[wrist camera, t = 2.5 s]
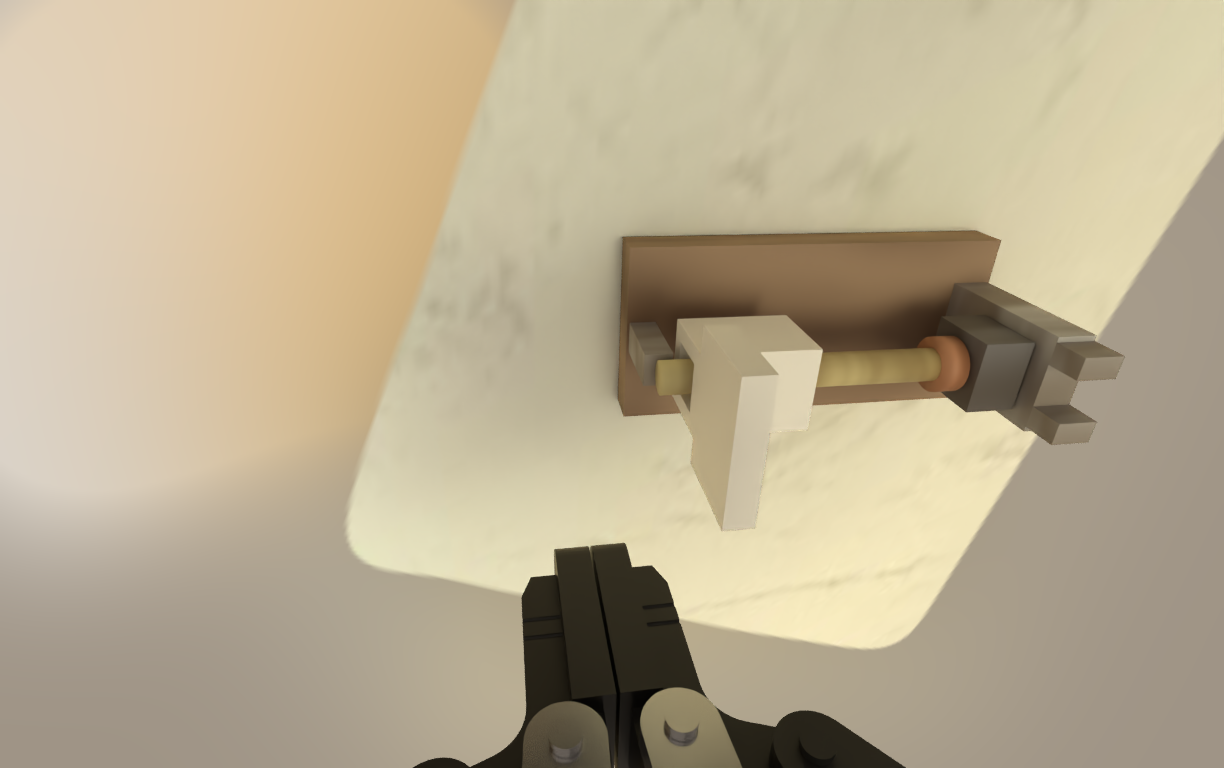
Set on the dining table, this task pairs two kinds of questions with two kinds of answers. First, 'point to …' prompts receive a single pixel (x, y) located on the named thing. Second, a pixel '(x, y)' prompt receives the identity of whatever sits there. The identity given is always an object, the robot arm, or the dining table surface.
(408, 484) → the dining table surface
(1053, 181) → the dining table surface
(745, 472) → the cream stepped block
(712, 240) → the linear actuator
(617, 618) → the robot arm
